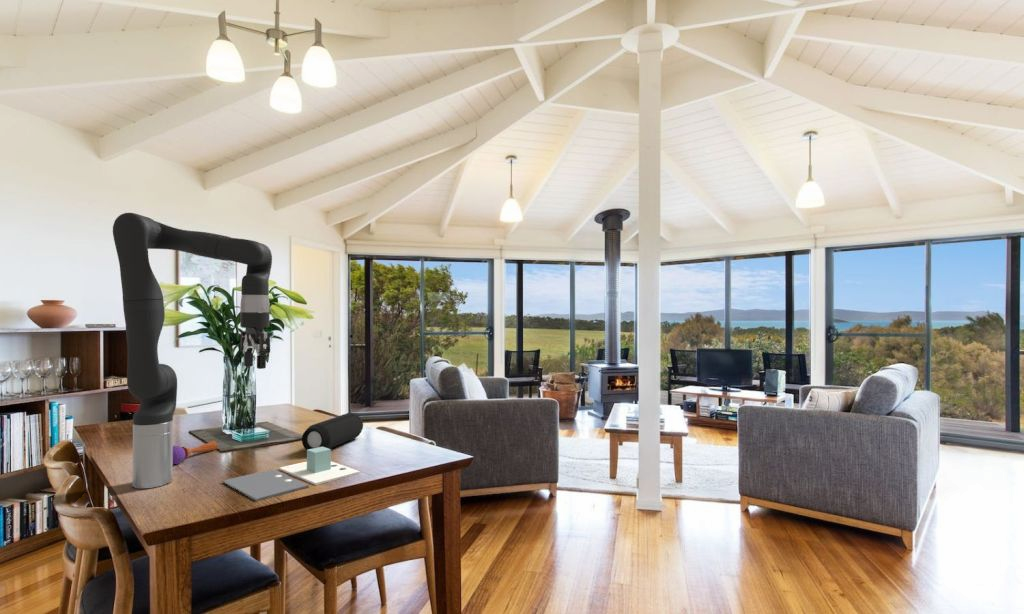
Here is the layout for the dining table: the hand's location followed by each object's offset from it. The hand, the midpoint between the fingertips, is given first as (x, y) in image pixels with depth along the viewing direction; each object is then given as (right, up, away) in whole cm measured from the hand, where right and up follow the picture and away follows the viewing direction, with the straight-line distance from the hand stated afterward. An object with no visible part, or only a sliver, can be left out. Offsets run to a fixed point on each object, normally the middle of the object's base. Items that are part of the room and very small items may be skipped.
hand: (254, 367), depth 148 cm
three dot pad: (+16, -32, +7) cm, 37 cm away
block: (+16, -32, +7) cm, 36 cm away
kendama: (-32, -33, +22) cm, 51 cm away
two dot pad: (+5, -32, -5) cm, 33 cm away
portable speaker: (+10, -33, +38) cm, 51 cm away
